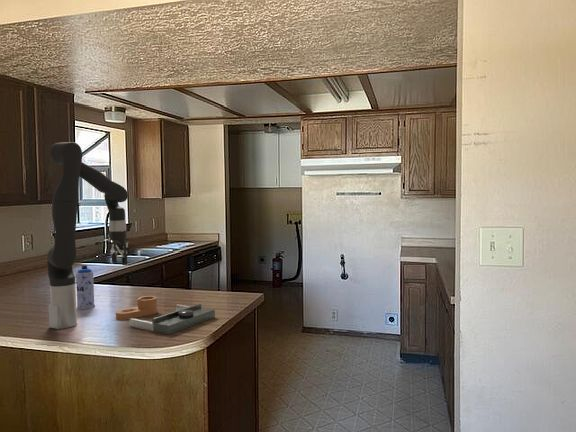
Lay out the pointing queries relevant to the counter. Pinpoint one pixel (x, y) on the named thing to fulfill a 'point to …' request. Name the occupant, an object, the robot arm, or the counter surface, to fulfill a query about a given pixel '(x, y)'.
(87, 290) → the aerosol can
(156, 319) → the deck mount
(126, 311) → the bracket
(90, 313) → the counter surface
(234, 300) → the counter surface
